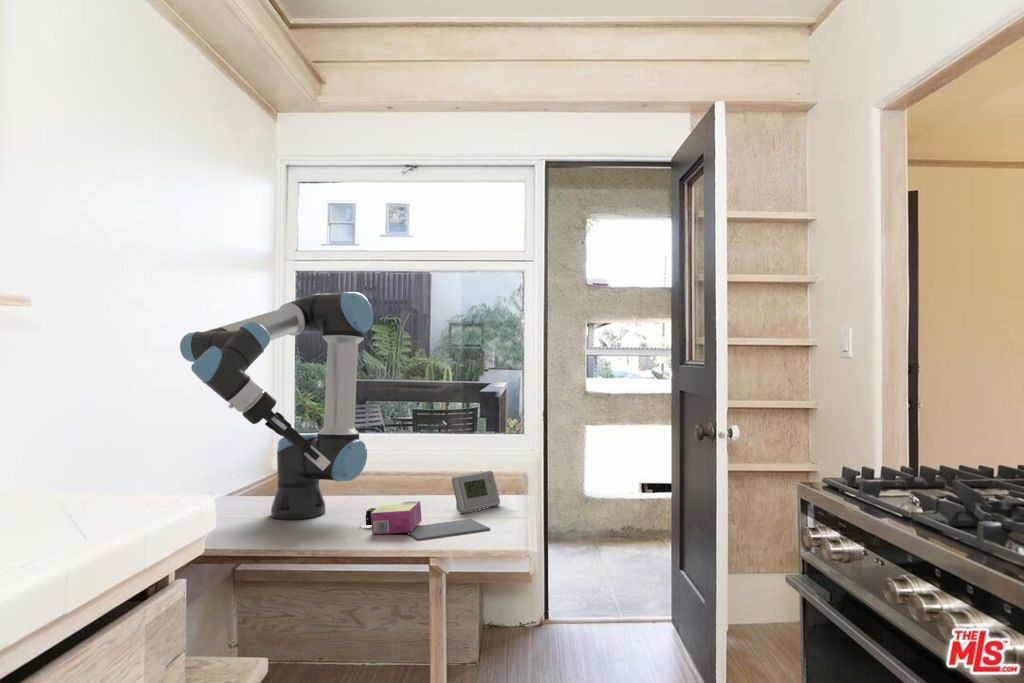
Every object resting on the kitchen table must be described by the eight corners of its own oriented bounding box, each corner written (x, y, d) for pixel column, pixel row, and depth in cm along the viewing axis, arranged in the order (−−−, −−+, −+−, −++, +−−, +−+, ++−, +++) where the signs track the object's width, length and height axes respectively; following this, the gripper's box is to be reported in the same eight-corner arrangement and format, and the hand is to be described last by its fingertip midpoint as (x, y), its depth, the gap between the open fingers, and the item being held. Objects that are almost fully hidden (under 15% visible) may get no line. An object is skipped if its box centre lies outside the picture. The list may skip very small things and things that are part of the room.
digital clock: (459, 515, 191) (459, 478, 191) (444, 509, 199) (444, 473, 199) (506, 508, 200) (506, 472, 200) (491, 502, 207) (490, 468, 208)
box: (411, 532, 169) (422, 521, 181) (409, 510, 169) (420, 500, 181) (371, 535, 170) (384, 523, 182) (370, 513, 170) (383, 502, 182)
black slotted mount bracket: (377, 532, 174) (377, 515, 174) (351, 531, 175) (351, 514, 176) (393, 521, 187) (393, 505, 187) (368, 520, 188) (368, 504, 188)
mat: (401, 529, 175) (401, 527, 175) (470, 520, 184) (470, 518, 184) (417, 540, 164) (417, 538, 164) (490, 530, 174) (490, 528, 174)
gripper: (237, 411, 159) (309, 473, 167) (244, 416, 148) (321, 482, 156) (260, 388, 162) (330, 450, 170) (269, 391, 150) (344, 457, 158)
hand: (326, 466), depth 163 cm, fingers closed
